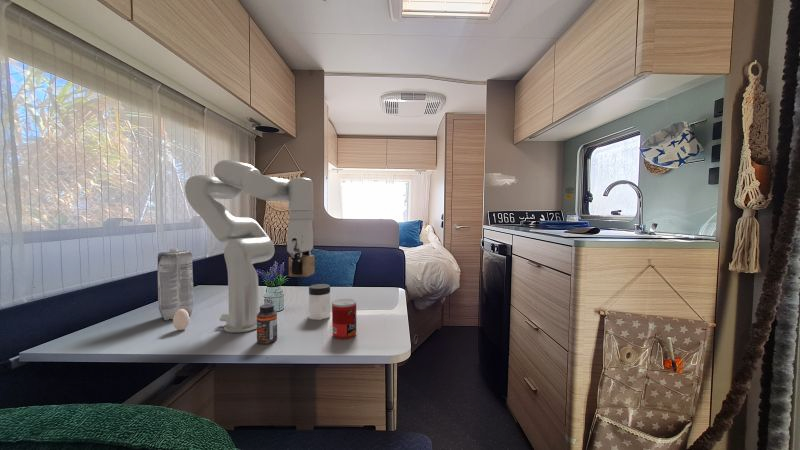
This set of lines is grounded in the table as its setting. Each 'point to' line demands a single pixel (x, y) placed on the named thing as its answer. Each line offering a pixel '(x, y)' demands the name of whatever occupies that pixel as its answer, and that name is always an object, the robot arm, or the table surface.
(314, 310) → the jar
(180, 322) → the egg
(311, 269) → the walnut cube
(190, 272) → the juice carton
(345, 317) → the canned food
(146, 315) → the table surface
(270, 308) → the supplement bottle
